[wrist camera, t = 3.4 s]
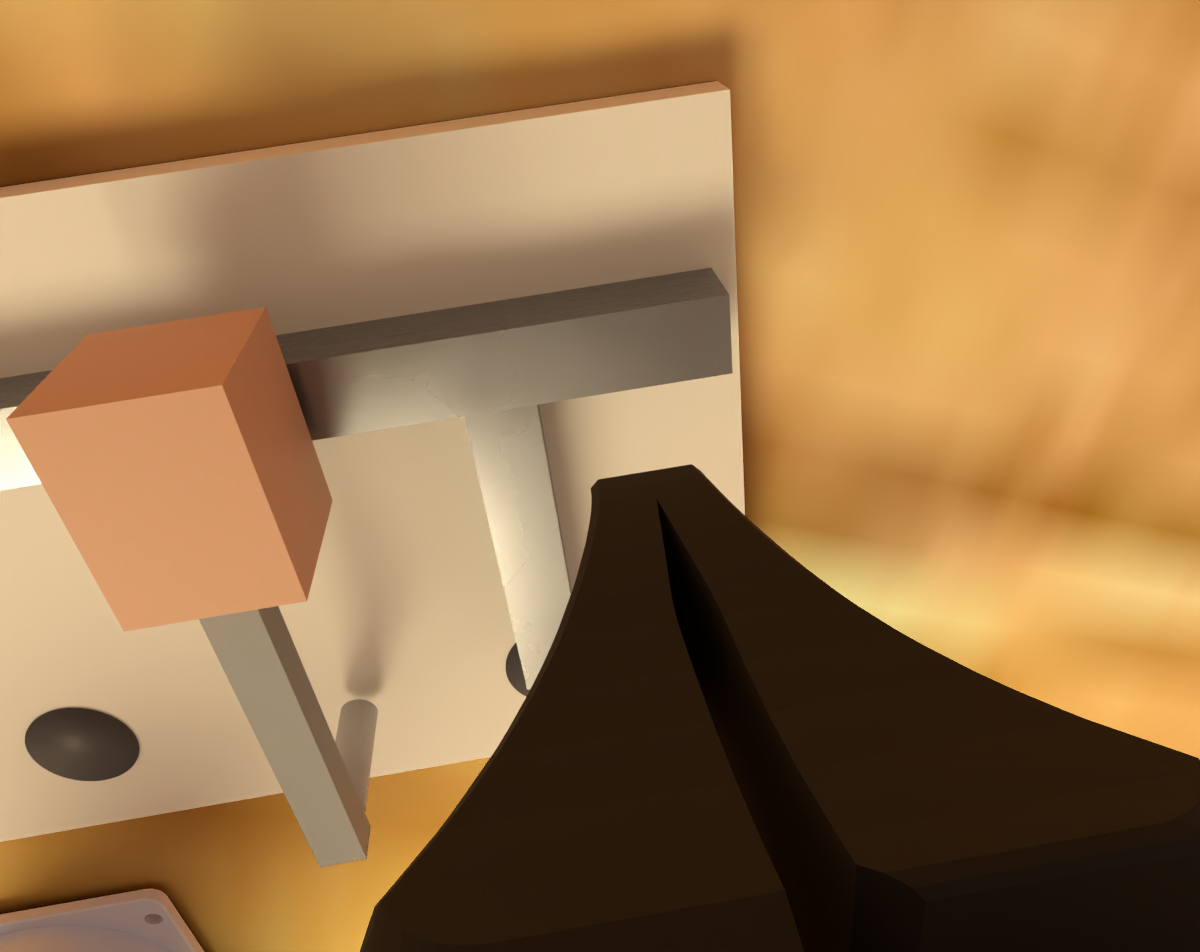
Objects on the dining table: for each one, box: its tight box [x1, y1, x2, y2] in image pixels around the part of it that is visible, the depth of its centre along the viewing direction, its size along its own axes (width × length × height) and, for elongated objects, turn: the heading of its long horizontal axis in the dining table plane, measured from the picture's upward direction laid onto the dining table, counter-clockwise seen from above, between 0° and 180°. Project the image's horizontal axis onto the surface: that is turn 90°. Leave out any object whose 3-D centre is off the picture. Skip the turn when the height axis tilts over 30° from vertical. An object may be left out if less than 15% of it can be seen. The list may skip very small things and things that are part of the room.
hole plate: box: [0, 81, 745, 842], centre depth 20 cm, size 16×24×1 cm, turn 97°
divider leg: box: [6, 307, 378, 867], centre depth 17 cm, size 11×3×4 cm, turn 7°
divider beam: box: [0, 268, 733, 690], centre depth 19 cm, size 10×23×2 cm, turn 97°
